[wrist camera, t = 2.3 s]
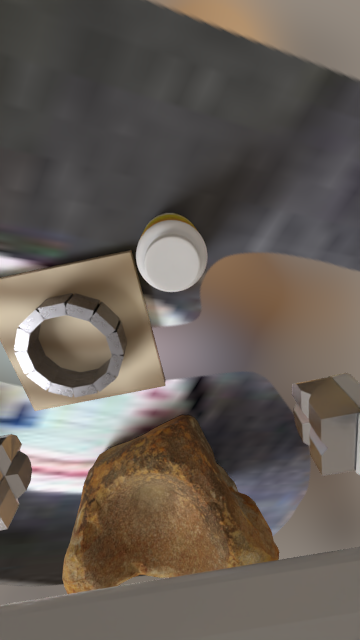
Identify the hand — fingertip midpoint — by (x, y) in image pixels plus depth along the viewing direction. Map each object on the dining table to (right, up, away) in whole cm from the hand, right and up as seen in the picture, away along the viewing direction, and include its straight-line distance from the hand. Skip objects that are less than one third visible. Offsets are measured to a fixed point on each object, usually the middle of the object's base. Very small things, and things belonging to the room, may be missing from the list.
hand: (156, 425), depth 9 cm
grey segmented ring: (-10, +1, +24) cm, 26 cm away
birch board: (-10, +1, +25) cm, 27 cm away
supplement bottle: (0, +11, +22) cm, 24 cm away
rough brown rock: (-1, -14, +33) cm, 36 cm away
